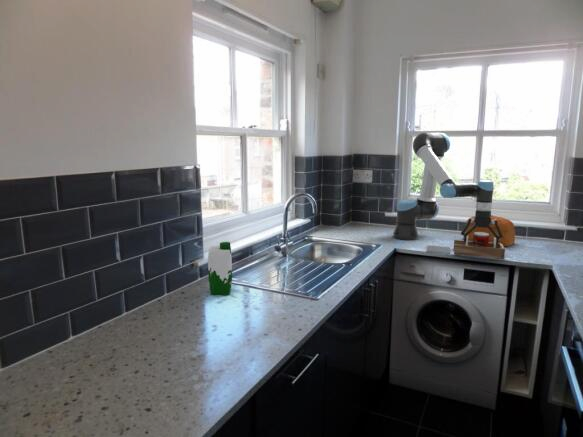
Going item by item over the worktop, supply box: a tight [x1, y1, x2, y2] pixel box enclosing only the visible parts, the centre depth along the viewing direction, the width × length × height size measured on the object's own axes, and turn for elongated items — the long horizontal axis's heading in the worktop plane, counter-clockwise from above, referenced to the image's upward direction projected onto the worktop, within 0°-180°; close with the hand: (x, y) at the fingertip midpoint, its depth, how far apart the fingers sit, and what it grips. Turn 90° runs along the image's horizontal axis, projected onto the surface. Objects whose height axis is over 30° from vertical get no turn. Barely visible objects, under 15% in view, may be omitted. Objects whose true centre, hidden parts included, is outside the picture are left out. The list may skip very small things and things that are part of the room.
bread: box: [462, 214, 516, 247], centre depth 248 cm, size 16×27×16 cm, turn 44°
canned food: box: [472, 232, 489, 247], centre depth 220 cm, size 8×8×11 cm
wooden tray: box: [453, 239, 506, 259], centre depth 221 cm, size 13×24×5 cm, turn 69°
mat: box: [426, 244, 451, 255], centre depth 228 cm, size 14×12×1 cm
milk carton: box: [207, 241, 233, 296], centre depth 161 cm, size 9×9×20 cm
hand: (480, 249), depth 221 cm, fingers open, 13 cm apart
